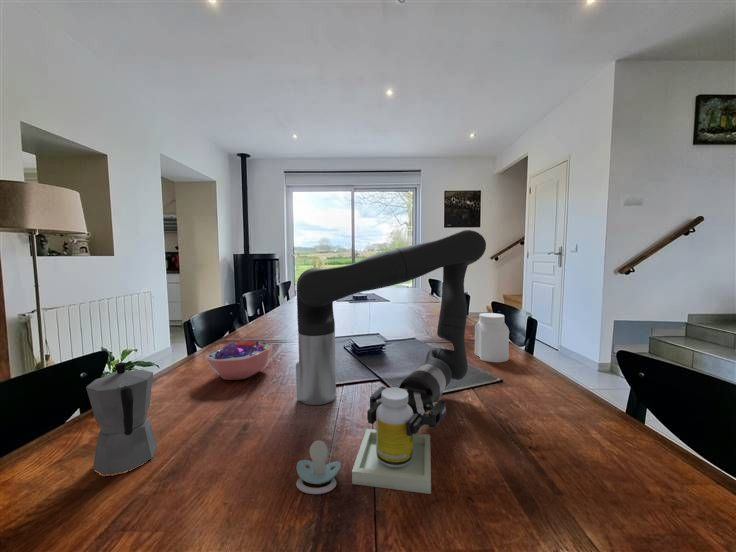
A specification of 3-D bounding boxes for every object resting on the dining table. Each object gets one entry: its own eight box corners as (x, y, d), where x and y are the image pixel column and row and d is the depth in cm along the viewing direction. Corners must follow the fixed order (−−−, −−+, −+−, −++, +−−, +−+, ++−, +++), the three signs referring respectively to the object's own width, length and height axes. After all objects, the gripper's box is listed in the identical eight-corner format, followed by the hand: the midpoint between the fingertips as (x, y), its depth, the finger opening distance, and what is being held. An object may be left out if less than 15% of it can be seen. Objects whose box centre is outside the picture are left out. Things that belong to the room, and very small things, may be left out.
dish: (352, 483, 50) (351, 471, 50) (366, 438, 62) (366, 428, 62) (430, 494, 48) (430, 480, 48) (430, 445, 60) (430, 434, 60)
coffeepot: (90, 454, 58) (83, 360, 57) (151, 434, 65) (146, 349, 63) (94, 501, 47) (86, 385, 46) (167, 471, 53) (161, 368, 52)
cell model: (286, 370, 99) (285, 335, 99) (229, 395, 83) (227, 353, 82) (252, 361, 108) (250, 329, 108) (194, 381, 92) (192, 343, 91)
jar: (512, 362, 105) (513, 318, 104) (483, 362, 105) (484, 318, 104) (497, 351, 116) (498, 311, 115) (472, 352, 116) (472, 312, 115)
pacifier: (336, 499, 47) (343, 470, 53) (335, 460, 47) (342, 436, 53) (289, 496, 48) (301, 468, 54) (287, 458, 47) (300, 434, 53)
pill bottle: (411, 472, 51) (412, 404, 50) (372, 466, 53) (373, 400, 52) (413, 447, 58) (414, 386, 57) (379, 443, 59) (379, 383, 58)
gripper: (393, 364, 70) (352, 393, 56) (457, 376, 63) (429, 413, 48) (393, 396, 71) (353, 433, 56) (457, 412, 63) (429, 459, 49)
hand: (388, 424), depth 52 cm, fingers open, 6 cm apart
